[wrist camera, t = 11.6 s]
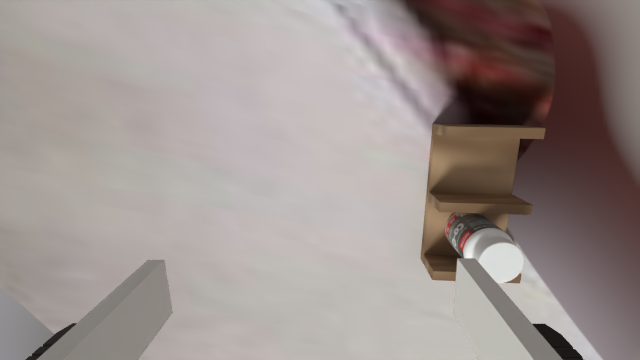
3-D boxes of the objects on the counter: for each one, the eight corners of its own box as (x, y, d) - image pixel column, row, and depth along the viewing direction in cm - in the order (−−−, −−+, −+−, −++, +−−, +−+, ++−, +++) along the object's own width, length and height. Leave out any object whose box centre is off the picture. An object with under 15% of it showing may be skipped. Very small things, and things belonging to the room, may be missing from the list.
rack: (432, 123, 36) (447, 126, 31) (517, 125, 36) (545, 128, 31) (420, 258, 40) (432, 279, 35) (497, 261, 39) (519, 283, 35)
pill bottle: (443, 210, 37) (473, 240, 29) (486, 206, 37) (529, 235, 29) (444, 249, 38) (474, 288, 30) (486, 246, 38) (528, 284, 30)
